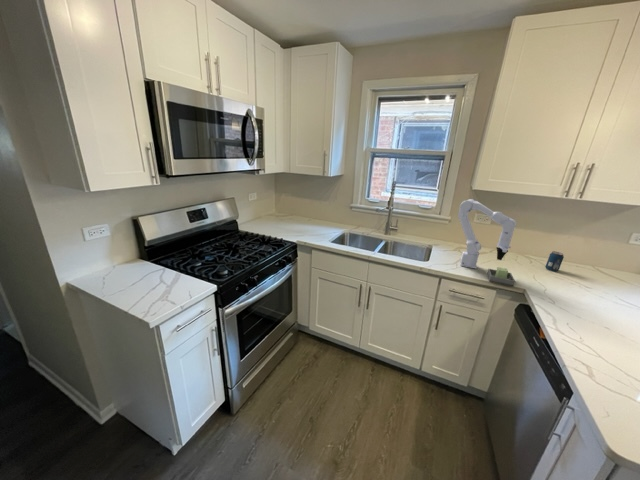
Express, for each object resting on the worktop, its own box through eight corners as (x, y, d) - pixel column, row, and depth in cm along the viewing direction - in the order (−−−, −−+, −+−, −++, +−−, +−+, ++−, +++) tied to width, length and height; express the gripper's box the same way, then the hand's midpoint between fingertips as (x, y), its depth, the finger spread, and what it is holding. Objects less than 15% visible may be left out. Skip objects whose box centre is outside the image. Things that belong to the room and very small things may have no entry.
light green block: (496, 279, 156) (498, 269, 154) (494, 276, 160) (497, 267, 158) (505, 280, 154) (508, 271, 152) (503, 277, 158) (506, 268, 156)
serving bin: (489, 281, 155) (490, 276, 154) (486, 273, 165) (488, 268, 164) (513, 286, 150) (515, 281, 149) (509, 278, 161) (510, 272, 159)
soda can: (549, 267, 180) (555, 250, 176) (560, 271, 174) (567, 254, 170) (542, 267, 178) (548, 251, 174) (553, 272, 172) (560, 255, 168)
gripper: (515, 243, 151) (509, 265, 155) (510, 236, 163) (504, 256, 168) (501, 241, 154) (495, 262, 158) (497, 234, 166) (491, 254, 171)
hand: (499, 259), depth 163 cm, fingers closed
